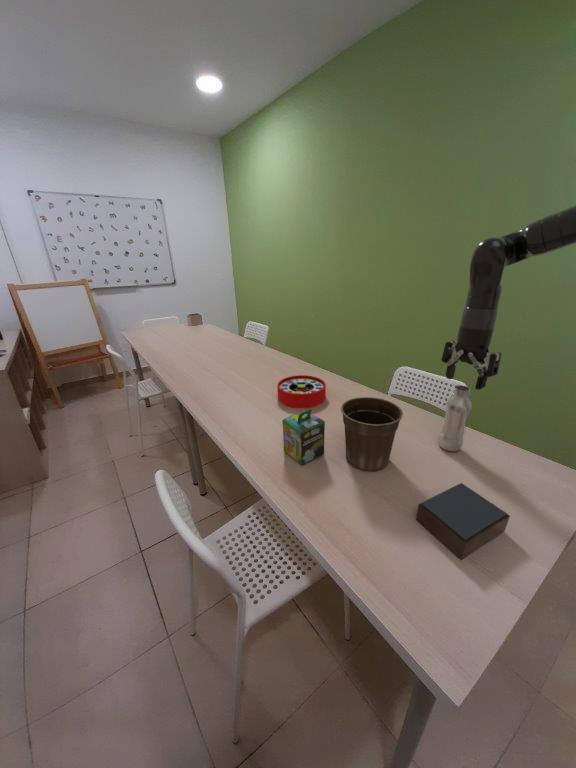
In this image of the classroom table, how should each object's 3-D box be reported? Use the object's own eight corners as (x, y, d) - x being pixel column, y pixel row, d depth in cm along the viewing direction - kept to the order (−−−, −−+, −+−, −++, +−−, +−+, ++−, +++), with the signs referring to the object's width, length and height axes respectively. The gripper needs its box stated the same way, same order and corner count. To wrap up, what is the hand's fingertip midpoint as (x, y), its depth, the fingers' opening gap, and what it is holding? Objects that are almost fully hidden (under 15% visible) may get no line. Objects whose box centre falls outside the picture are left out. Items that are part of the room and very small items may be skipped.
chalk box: (305, 440, 97) (305, 399, 91) (325, 454, 90) (326, 410, 84) (282, 451, 92) (280, 408, 86) (301, 466, 85) (300, 421, 79)
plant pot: (341, 439, 97) (343, 394, 90) (394, 445, 93) (400, 398, 87) (335, 471, 83) (338, 421, 76) (397, 480, 79) (405, 428, 72)
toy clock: (301, 399, 111) (267, 384, 124) (302, 413, 113) (268, 397, 127) (335, 383, 123) (301, 371, 137) (335, 396, 126) (301, 383, 139)
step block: (457, 497, 73) (461, 481, 71) (504, 531, 64) (510, 514, 62) (415, 519, 67) (418, 502, 65) (460, 560, 58) (466, 542, 56)
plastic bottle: (443, 439, 95) (455, 381, 87) (465, 448, 90) (480, 388, 82) (432, 446, 92) (444, 387, 84) (454, 457, 87) (469, 395, 79)
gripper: (515, 328, 72) (498, 390, 78) (460, 318, 83) (449, 372, 90) (496, 332, 69) (480, 396, 75) (442, 321, 80) (432, 377, 87)
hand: (463, 383), depth 83 cm, fingers open, 8 cm apart
